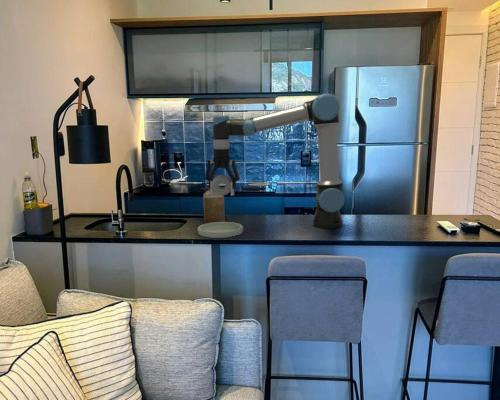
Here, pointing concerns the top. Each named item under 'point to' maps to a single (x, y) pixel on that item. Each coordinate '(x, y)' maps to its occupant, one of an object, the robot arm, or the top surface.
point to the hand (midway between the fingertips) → (222, 194)
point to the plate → (220, 229)
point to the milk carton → (213, 207)
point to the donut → (217, 180)
